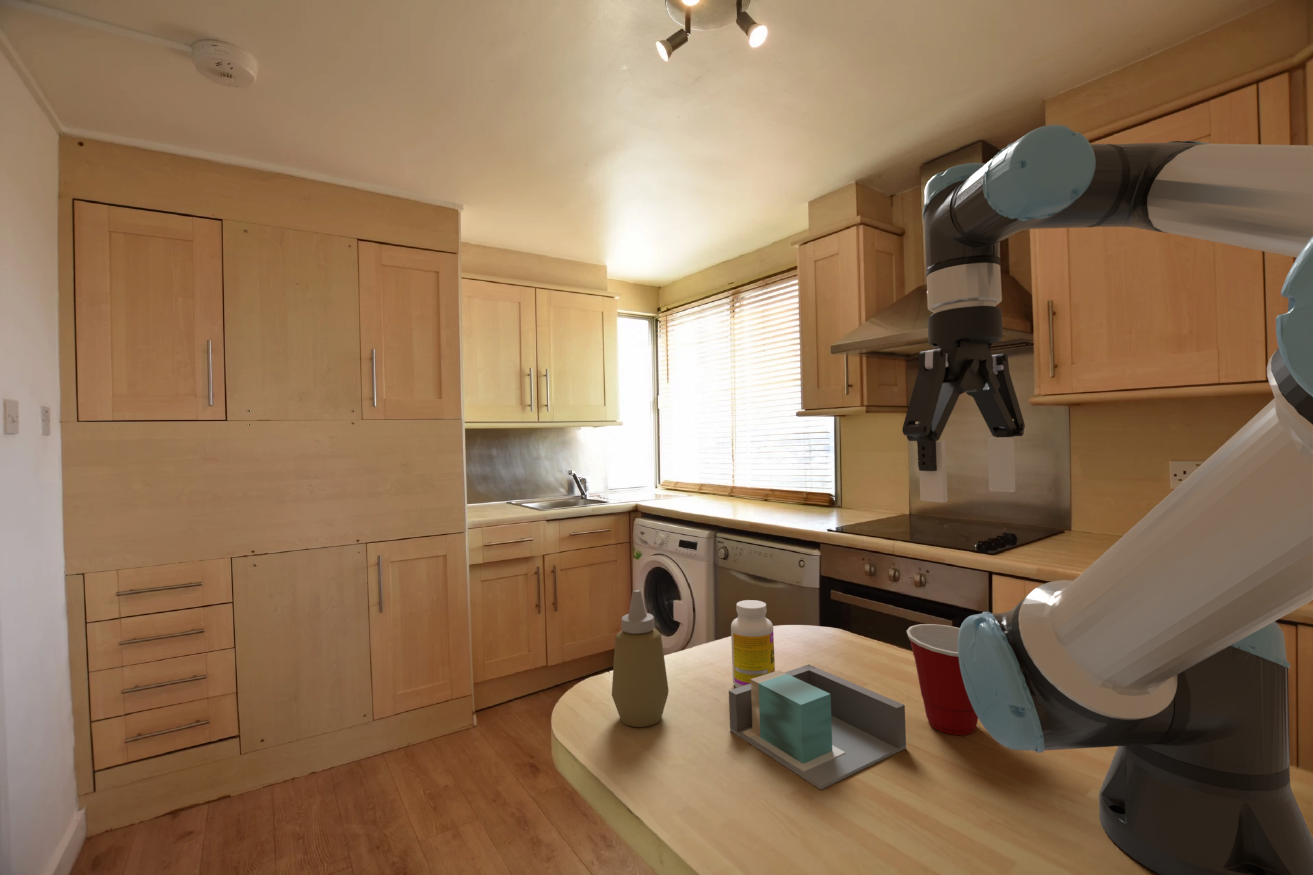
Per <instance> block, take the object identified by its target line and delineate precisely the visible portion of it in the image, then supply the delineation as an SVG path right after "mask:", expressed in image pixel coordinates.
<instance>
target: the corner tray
mask: <svg viewBox="0 0 1313 875" xmlns="http://www.w3.org/2000/svg"><path fill="white" fill-rule="evenodd" d="M783 672H784V671H783ZM784 673H786V674H788V675H791V676H793V677H795V678H797V679H799V680H801V681H804V682H806V683H808V684H810V685H812V686H815V687H817V688H819V689H821V690H823V691H825V692H828V693H830V694H831V723H832V751H831V752H829V753H826V754H824V755H822V756H820V757H817V758H815V759H813V760H811V761H808V762H806V763H804V764H802V763H801V762H799V761H798V760H796V759H794V758H793V757H791V756H790V755H788V754H786V753H785V752H783V751H782V750H780V749H778V748H777V747H775V746H774V745H772V744H770V743H769V742H767V741H765V740H764V739H762V738H761V737H759V736H757V735H756V734H754V733H753V728H752V699H751V683H750V684H747V685H744V686H741V687H738V688H737V687H735V688H731V689H729V690H728V704H729V706H728V707H729V709H728V711H729V732H731V733H733V734H734V735H736V736H738V738H741V739H742V740H743V741H745V742H747V743H748V744H750V745H751V746H753V747H754V748H756V749H757V750H759V751H761V752H762V753H764V754H765V755H767V756H768V757H770V758H771V759H773V760H775V761H776V762H777V763H779V764H781V765H782V766H783V767H786V768H787V769H789V770H790V771H792V772H793V773H794V774H796V775H797V776H799V777H800V778H802V779H804V780H806V782H808V783H810V784H811V785H813V786H815V787H816V788H817V789H818V790H823V789H825V788H828V787H829V786H832V785H833V784H836V783H837V782H840V781H841V780H844V779H846V778H848V777H850V776H852V775H854V774H856V773H858V772H860V771H862V770H865V769H866V768H869V767H870V766H873V765H875V764H876V763H879V762H881V761H883V760H885V759H887V758H889V757H890V756H893V755H895V754H898V753H899V752H902V751H903V750H905V749H907V738H906V737H907V735H906V731H907V730H906V729H907V728H906V709H905V708H906V706H905V704H903V703H902V702H899V701H897V700H895V699H892V698H889V697H887V696H885V695H883V694H879V693H878V692H875V691H873V690H870V689H868V688H866V687H864V686H861V685H859V684H856V683H854V682H851V681H849V680H847V679H844V678H841V677H840V676H838V675H836V674H832V673H830V672H827V671H825V670H824V669H821V668H819V667H816V666H814V665H811V664H806V665H802V666H800V667H797V668H794V669H791V670H787V671H785V672H784Z"/></svg>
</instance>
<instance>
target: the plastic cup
mask: <svg viewBox="0 0 1313 875" xmlns="http://www.w3.org/2000/svg"><path fill="white" fill-rule="evenodd" d="M959 630H960V627H956V626H952V625H944V624H935V623H930V624H929V623H926V624H921V623H920V624H915V625H912V626H909V627H908V629H907V630H906V634H907V637H908V639H909V641H910V647H911V648H912V653H913V654H912V655H913V657H914V662H915V663H914V664H915V666H916V667H915V668H916V673H917V679H918V683H919V690H920V694H921V697H922V701H923V704H924V709H925V716H926V718H927V721H928V724H929V726H930V727H932V728H933V729H935V730H937V731H939V732H941V733H943V734H944V733H945V734H949V735H954V736H967V735H971V734H973V733H975V730H976V728H977V725H978V722H979V721H978V720H979V718H978V717H977V715H976V713H975V711H974V709H973V707H972V704H971V702H970V700H969V697H968V694H967V692H966V689H965V685H964V682H963V678H962V674H961V670H960V664H959V656H958V635H959Z"/></svg>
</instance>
